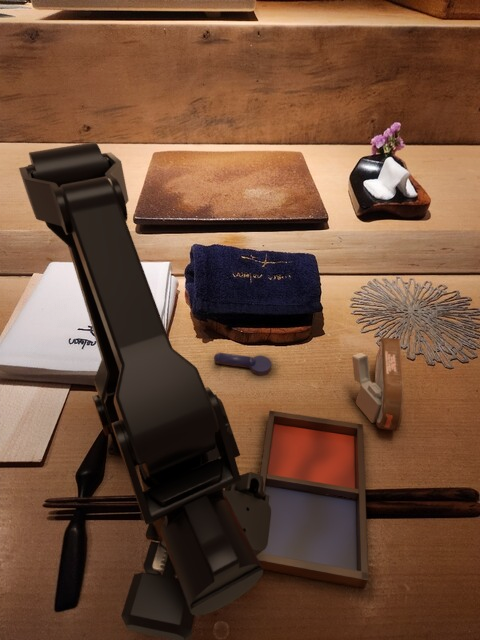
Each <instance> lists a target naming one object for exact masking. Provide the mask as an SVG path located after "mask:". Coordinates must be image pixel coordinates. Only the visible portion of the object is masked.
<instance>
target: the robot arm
mask: <svg viewBox="0 0 480 640" xmlns="http://www.w3.org/2000/svg"><path fill="white" fill-rule="evenodd" d="M28 156H29V160H30V164H27V166H26V165H25V166H21V167H18V170H19V174H20V176H21V179H22V183H23V186H24V190H25V193H26V195H27V199H28V201H29V204H30V207H31V209H32V213H33V214H34V218H35V219H36V220H38V221H40V222H44V223H45V225H46V227H47V228H48V229H49V230H50V231H51V232H53V234H55V236H56V237H58V238H59V239H60V240H61V241H62V242H63V243H64V244H65V245H67V248H68V251H69V254H70V257H71V261H72V264H73V268H74V271H75V274H76V278H77V282H78V285H79V287H80V291H81V294H82V298H83V301H84V305H85V308H86V312H87V314H88V318H89V321H90V325H91V328H92V331H93V335H94V339H95V342H96V345H97V348H98V352H99V355H100V358H101V360H100V363H99V366H98V368H97V371H96V374H95V376H94V379H93V383H94V385H95V389H96V392H97V394H96V395H93V396H91V398H92V401H93V404H94V408H95V410H96V413H97V416H98V419H99V421H100V424H101V428H102V430H103V433H104V435H105V437H107V436H109V435H110V438H111V441H110V443H109V446H108V448H107V452H108V454H109V455H113V456H119V457H121V458H122V461H123V463H124V466H125V467H124V468H125V469H126V472H127V475H128V478H129V482H130V484H131V488H132V490H133V493H134V497H135V498H136V502H137V505H138V508H139V511H140V514H139V517H140V520H141V521H143V522H144V524H145V526H147V529H146V532H145V538H146V540H149V541H150V542H149V546H148V549H147V552H146V556H145V559H144V562H143V571H144V572H137V573H134V574H133V577H132V580H131V583H130V586H129V590H128V592H127V596H126V598H125V603H124V604H123V605H124V606H123V609H122V611H121V619H122V621H123V623H124V625H125V627H126V629H127V631H128V632H133V633H138V634H143V635H148V636H152V637H157V638H162V639H166V640H190V639H191V638H192V637H193V636H194V631H195V627H196V622H197V621H196V620H197V616H204V615H207V614H210V613H213V612H215V611H218V610H220V609H222V608H223V607H226V606H227V605H230V604H231V603H232V602H235V601H236V600H237V599H239V598H240V597H241V596H243V595H244V594H246V593H247V592H248V591H249V590H251V589H252V588H253V587H254V586H255V585H256V584H257V583H258V582H259V580H260V579H261V578H262V576H263V574H264V570H263V568H262V566H261V564H260V562H259V560H258V558H257V555H258V554H259V553H261V552H262V551H263V550H264V549H265V548H266V547H267V544H268V537H269V528H270V520H271V507H270V505H269V495H267V494H266V495H265V494H264V492H263V487H264V482H263V477H262V476H261V475H260V473H255V472H252V471H250V472H246V473H242V474H240V471H239V468H238V464H237V460H236V458H238V457H241V453H240V450H239V447H238V443H237V440H236V438H235V435H234V432H233V430H232V426H231V423H230V420H229V418H228V414H227V411H226V408H225V406H224V403H223V401H222V399H221V398H219V397H218V395H217V393H216V394H215V393H214V392H213V390H212V389H211V388H210V387H208V386H207V387H206V386H205V383H204V381H203V379H202V376H201V373H200V372H199V369H198V368H197V367H196V366H195V365H194V364H193V363H192V362H191V361H190V360H188V359H187V358H185V357H184V356H183V355H181V354H180V353H179V352H178V351H177V350H175V349H174V348H173V346H172V344H171V341H170V338H169V336H168V333H167V330H166V328H165V325H164V323H163V320H162V317H161V313H160V312H159V309H158V306H157V303H156V300H155V297H154V296H153V292H152V290H151V287H150V284H149V281H148V279H147V276H146V273H145V270H144V267H143V264H142V261H141V260H140V256H139V254H138V251H137V249H136V246H135V242H134V240H133V237H132V234H131V231H130V228H129V225H128V223H127V221H128V209H127V204H128V202H129V196H128V195H129V194H128V189H127V183H126V179H125V173H124V169H123V164H122V160H120V159H119V157H117V156H116V155H115V154H114V153H112V152H104V153H102V150H101V148H100V147H99V145H98V143H97V142H96V141H93V142H87V143H85V142H84V143H79V144H74V145H73V144H72V145H68V146H67V145H66V146H60V147H54V148H49V149H43V150H36V151H29V152H28ZM137 467H138V471H139V474H138V471H137ZM139 475H140V476H139ZM139 477H140V478H139ZM140 479H141V480H140ZM141 483H142V484H141Z"/></svg>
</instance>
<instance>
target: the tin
mask: <svg viewBox="0 0 480 640" xmlns="http://www.w3.org/2000/svg"><path fill="white" fill-rule="evenodd" d="M374 383H376V384H377V385H378V387H379V388H380V389H381V390H382V398H381V400H382V405H381V408H380V412H379V415H378V418H377V420H376V422H375V424H376V427H377V428H378V429H381V430H385V431H386V430H387V431H393V432H397V431H398V430H399V428H400V426H401V421H402V417H403V412H404V411H403V410H404V398H405V397H404V396H405V383H404V369H403V355H402V344H401V340H400V338H394V337H381V338H380V340H379V347H378V351H377V354H376V357H375V366H374Z"/></svg>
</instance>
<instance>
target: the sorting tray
mask: <svg viewBox="0 0 480 640" xmlns="http://www.w3.org/2000/svg"><path fill="white" fill-rule="evenodd" d="M264 438H265V439H264V445H263V452H262V459H261V466H260V472H259V475H261V476H262V477H263V482H264V487H263V492H264V494H265V495H266V494H267V495H269V505H270V507H271V520H270V528H269V537H268V544H267V547H266V548H265V549H264V550H263V551H262V552H261V553H259V554H258V555H257V558H258V560H259V562H260V564H261V566H262V568H263V571H267V572H273V573H278V574H283V575H288V576H293V577H300V578H305V579H309V580H316V581H321V582H325V583H332V584H337V585H343V586H346V587H347V586H348V587H351V588H352V587H354V588H358V589H365V588H366V586H367V584H368V583H369V579H370V578H369V577H370V576H369V555H368V553H369V552H368V551H369V550H368V528H367V526H368V525H367V523H368V522H367V500H366V475H365V473H366V471H365V447H364V446H365V445H364V424H362V423H356V422H350V421H344V420H336V419H330V418H324V417H316V416H309V415H302V414H296V413H289V412H283V411H277V410H269V411H268V417H267V425H266V431H265V437H264ZM314 492H316V493H314ZM320 493H321V494H320ZM326 494H329V495H326ZM332 495H337V496H332ZM338 496H343V497H338ZM344 497H346V498H344ZM350 498H352V499H350Z"/></svg>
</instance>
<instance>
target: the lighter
mask: <svg viewBox="0 0 480 640" xmlns="http://www.w3.org/2000/svg"><path fill="white" fill-rule="evenodd" d="M351 361H352V367H353V375H354V376H353V377H354V381H355V382H357V383H359V384H360V387H359V390H358V393H357V397H356V401H355V405H356V406H357V407H358V408H359V410H360V411H361V412H362V413H363V414H364V416H365V417H366V418H367V419H368V421H369V422H370V423H372V424H374V423H376V420H377V418H378V415H379V412H380V408H381V405H382V400H381V398H382V390H381V389H380V388H379V387H378V385H377V384H376V383H375V382H373V381H372V380H371V374H370V373H371V372H370V363H369V355H368V354H366V353H363V352H361V351H360V352H358V353H356V354H353V355H352V357H351Z"/></svg>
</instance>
